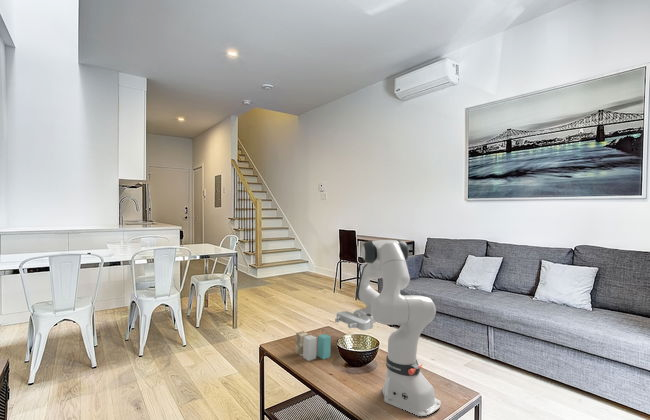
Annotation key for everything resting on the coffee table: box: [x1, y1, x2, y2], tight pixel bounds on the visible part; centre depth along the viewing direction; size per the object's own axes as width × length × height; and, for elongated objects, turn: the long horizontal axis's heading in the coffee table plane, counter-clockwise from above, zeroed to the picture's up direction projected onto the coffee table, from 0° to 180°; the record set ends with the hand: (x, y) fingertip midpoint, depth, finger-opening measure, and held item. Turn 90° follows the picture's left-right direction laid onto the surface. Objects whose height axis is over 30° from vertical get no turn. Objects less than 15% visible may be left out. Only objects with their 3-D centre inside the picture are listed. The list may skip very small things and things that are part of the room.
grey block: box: [302, 334, 318, 362], centre depth 161 cm, size 4×4×10 cm
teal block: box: [316, 333, 332, 360], centre depth 163 cm, size 4×4×10 cm
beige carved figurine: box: [295, 330, 310, 357], centre depth 166 cm, size 4×4×10 cm
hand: (342, 323), depth 171 cm, fingers open, 8 cm apart
